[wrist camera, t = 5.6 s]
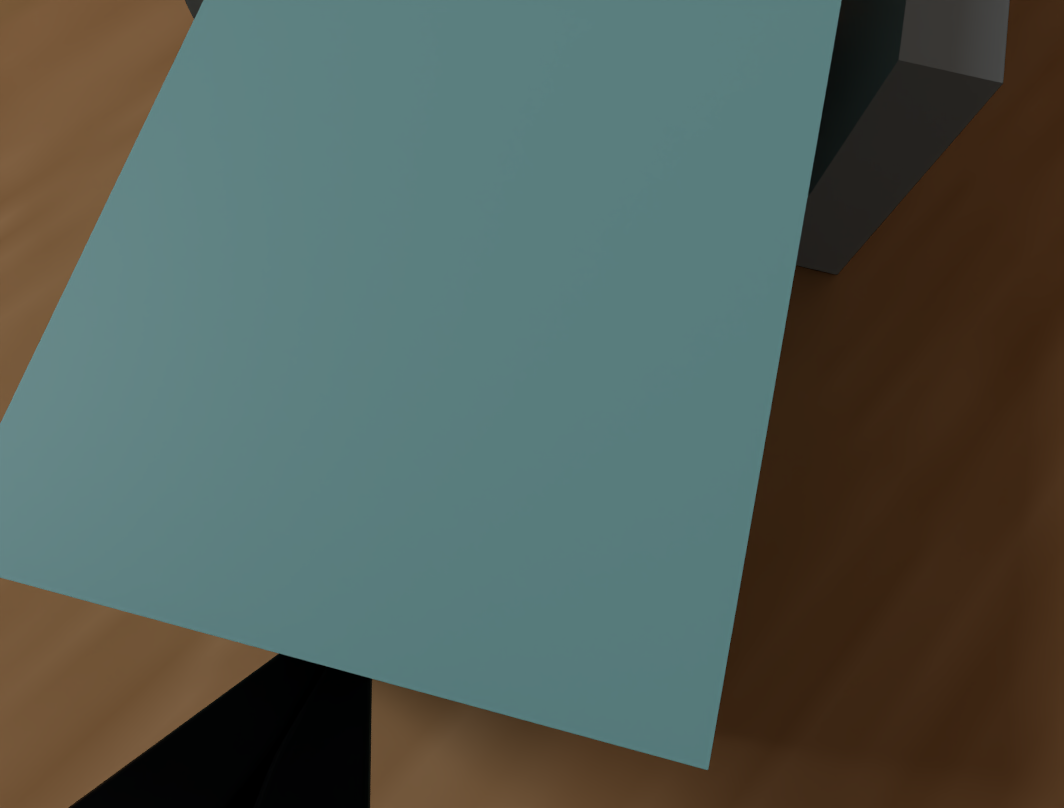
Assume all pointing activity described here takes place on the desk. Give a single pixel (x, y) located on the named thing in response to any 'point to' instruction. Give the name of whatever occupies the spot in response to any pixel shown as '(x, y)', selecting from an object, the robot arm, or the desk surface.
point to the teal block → (438, 348)
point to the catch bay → (890, 110)
